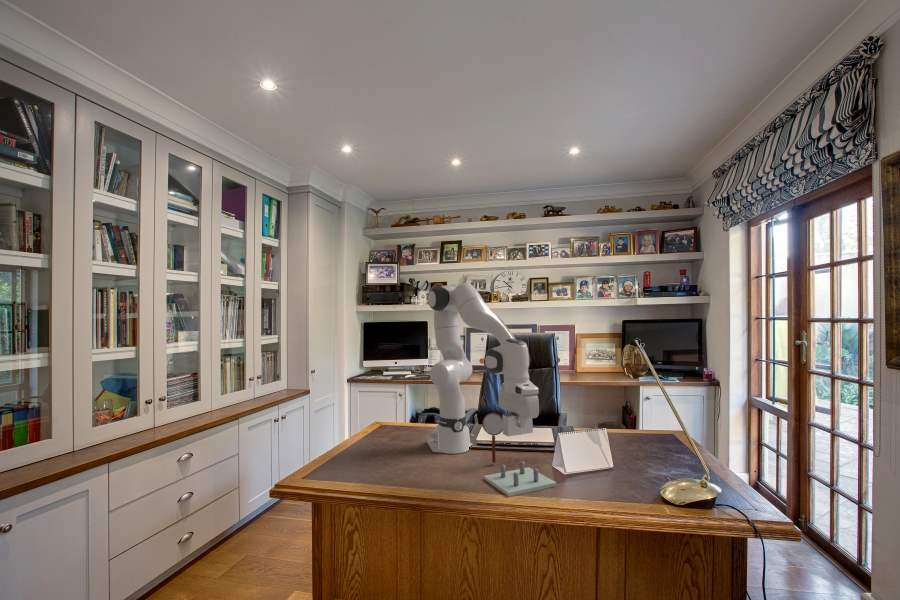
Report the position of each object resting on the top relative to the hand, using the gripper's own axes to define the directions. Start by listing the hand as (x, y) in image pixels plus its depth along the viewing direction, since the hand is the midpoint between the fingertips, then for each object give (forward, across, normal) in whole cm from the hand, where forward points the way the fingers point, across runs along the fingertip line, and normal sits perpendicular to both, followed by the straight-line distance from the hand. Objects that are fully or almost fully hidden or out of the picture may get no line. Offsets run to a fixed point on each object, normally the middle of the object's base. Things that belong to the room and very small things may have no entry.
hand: (517, 426), depth 145 cm
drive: (+2, 0, 0) cm, 2 cm away
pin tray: (+19, 0, 0) cm, 19 cm away
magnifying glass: (+19, -19, +1) cm, 27 cm away
